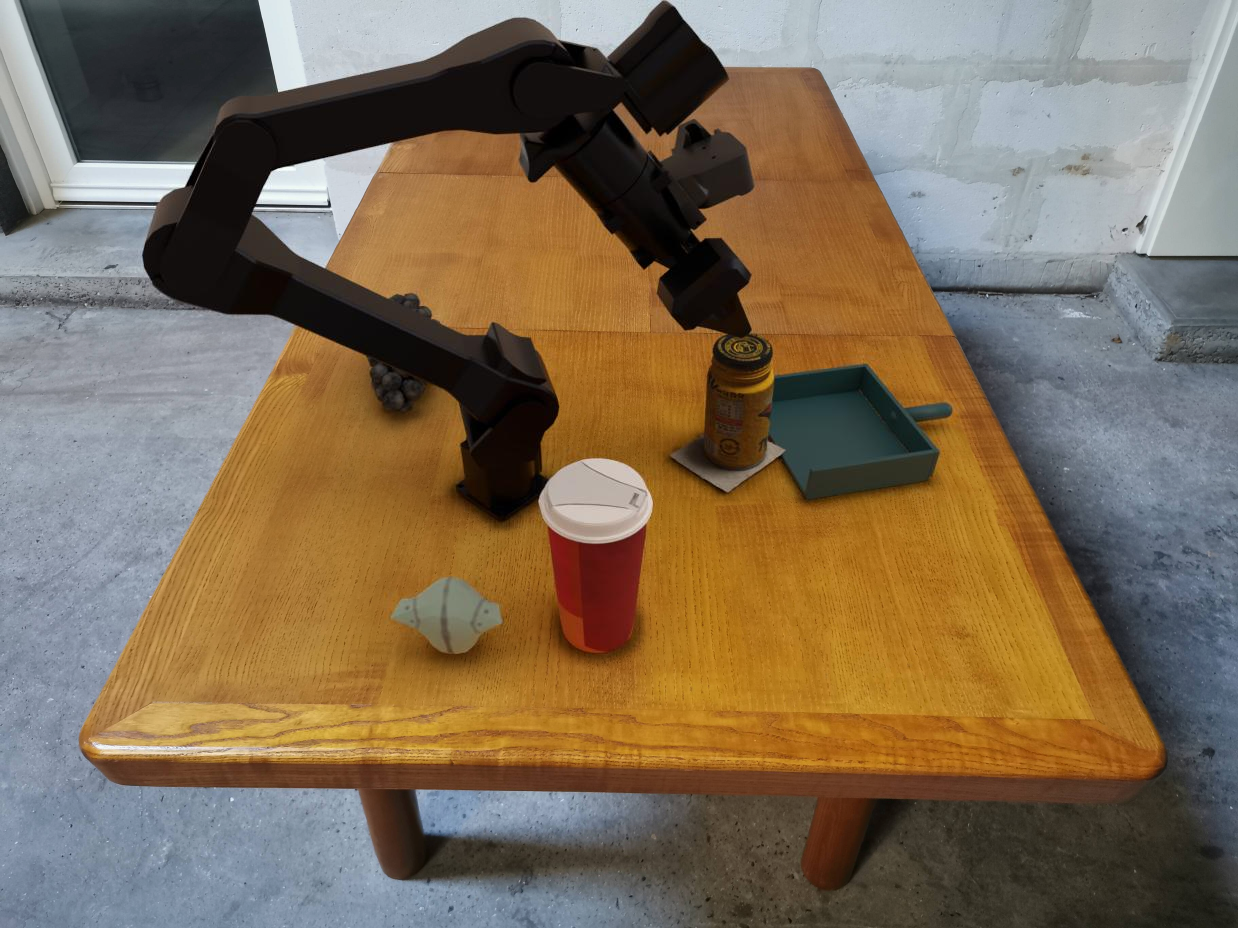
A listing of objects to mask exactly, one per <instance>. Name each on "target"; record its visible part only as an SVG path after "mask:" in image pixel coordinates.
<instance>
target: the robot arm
mask: <svg viewBox="0 0 1238 928" xmlns="http://www.w3.org/2000/svg"><path fill="white" fill-rule="evenodd" d="M729 81H730V77H729V75H728V72H727V70H726V69H725V67H724V65H723V64H722V62H721V60H720V58H719V57H718V56H717V54H716V52H715V51H714V50H713V49H712V48H711V47H710V46H709V45H707V44H706V43H705V42H704V41H703V40H702V39H701V38H700V37H699V35H698V34H697V33H696V32H695V31H694V29H693V28H692V26H690V24H688V21H686V20H685V19H684V17H683V16H682V15H681V13H680V12H679V10H678V8H677V7H676V6H675V5H673V4H672V3H671V2H670V1H668V0H661V1H660V2H659V3H658V4H657V5H656V6H655V7H654V8H653V9H652V10H651V11H650V12H649V13H648V14H647V16H646V18H645V19H644V20H643V22H642V23H641V24H640V25H639V26H638V27H637V28H636V29H635V30H634V31H632V32H631V34H629V36H627V37H626V38H625V40H623V41H622V42H621V43H620V44H619V45H618V46H617V47H616V48H615V49H614V50H612V52H611V53H610V54H608V55H607V56H606V55H605V54H604V53H603V52H602V51H601V50H600V48H598V47H594V46H591V45H585V44H580V43H575V42H571V41H567V40H563V39H562V40H561V39H558V38H557V37H556V36H555V34H554V33H553V31H552V30H550V29H549V28H548V27H547V26H545V25H544V24H542V23H541V22H540V21H537V20H536V19H533V18H529V17H526V16H525V17H524V16H523V17H519V16H518V17H511V18H508V19H506V20H503V21H500V22H499V23H496V24H493V25H491V26H489V27H486V28H484V29H482V30H480V31H477V32H474V33H473V34H470V35H467V36H466V37H464V38H463V39H461V40H459V41H458V42H456V43H455V44H453V45H451V46H450V47H448V48H447V49H445V50H444V51H442V52H440V53H438V54H436V55H434V56H431V57H429V58H426V59H424V60H421V61H415V62H410V63H405V64H401V65H396V66H392V67H388V68H383V69H379V70H374V71H373V70H372V71H370V72H369V71H368V72H364V73H360V74H356V75H350V76H346V77H341V78H337V79H331V80H328V81H323V82H318V83H314V84H309V85H304V86H300V87H296V88H291V89H287V90H281V91H277V92H273V93H272V92H271V93H267V94H263V95H259V96H257V95H256V96H250V95H240V96H239V95H238V96H235V97H233V98H231V99H229V100H227V101H226V102H225V103H224V104H223V105H222V106H221V107H220V108H219V111H218V115H217V117H216V121H215V126H214V129H213V131H212V133H211V135H210V137H209V138H208V140H207V142H206V144H205V145H204V147H203V149H202V151H201V152H200V154H199V156H198V158H197V160H196V162H195V164H194V166H193V168H192V170H191V173H190V175H189V176H188V179H187V181H186V183H185V185H184V186H183V187H179V188H174V189H172V190H170V192H168V193H166V194H165V195H163V196H162V197H161V199H160V200H159V202H157V204H156V206H155V208H154V212H153V215H152V219H151V222H150V225H149V229H148V231H147V235H146V238H145V241H144V245H143V249H142V254H141V258H142V264H143V268H144V271H145V273H146V274H147V276H148V278H149V280H150V281H151V285H152V287H154V288H155V290H157V291H158V292H160V294H162V295H164V296H166V297H167V298H169V299H171V300H172V301H174V302H175V301H176V302H178V303H181V304H185V305H188V306H192V307H197V308H200V309H202V310H203V309H204V310H207V311H212V312H214V313H218V314H222V315H227V316H271V317H275V318H278V319H279V320H281V321H284V322H287V323H289V324H292V325H293V326H296V327H299V328H301V329H303V330H306V331H308V332H310V333H312V334H315V335H317V336H319V337H322V338H324V339H326V340H328V341H331V342H333V343H336V344H338V345H339V346H342V347H345V348H347V349H349V350H351V351H353V352H356V353H359V354H361V355H362V356H365V357H366V356H368V357H370V358H372V359H375V360H377V361H379V362H381V363H384V364H386V365H388V366H391V367H393V368H395V369H398V370H400V371H402V372H405V373H407V374H409V375H411V376H414V377H416V378H418V379H421V380H423V381H425V382H427V384H430V385H431V386H435V387H437V388H439V389H442V390H444V391H445V392H447V393H448V394H449V395H450V396H451V397H452V398H453V399H454V400H456V402H458V406H459V411H460V414H461V419H462V423H463V428H464V432H465V440H463V441H461V442H459V443H460V444H459V447H460V455H461V462H462V468H463V469H462V470H463V477H464V479H463V480H461V481H459V482H457V483H456V484H455V486H454V487H455V492H456V493H458V494H459V495H460V496H462V497H463V498H465V499H466V500H468V501H469V502H470V503H472V504H474V505H475V506H477V507H478V508H479V509H481V510H482V511H484V512H485V513H487V514H488V515H490V516H491V517H493V518H494V519H496V520H497V521H499V522H504V521H507V520H509V519H510V518H511V517H513V516H514V515H516V514H517V513H519V512H520V511H522V510H524V508H526V507H527V506H529V505H530V504H531V503H533V502H534V501H536V500H538V499H539V498H540V495H541V493H542V491H543V489H544V488H545V486H546V484H547V482H548V481H549V480H550V478H547V477H546V476H544V475H542V474H541V473H542V472H543V459H542V441H543V438H544V436H545V433H546V432H547V431H548V430H549V429H550V428H551V427H553V425H554V424H555V422H556V420H557V418H558V417H559V411H560V403H559V399H558V396H557V393H556V390H555V388H554V385H553V383H552V380H551V377H550V374H549V373H548V369H547V366H546V364H545V361H544V359H543V356H542V355H541V353H540V352H539V351H538V350H537V349H536V347H535V345H534V342H533V340H532V337H527V336H520V335H517V334H514V333H513V332H511V331H509V330H508V329H507V328H505V327H504V326H502V325H501V324H500V323H498V322H495V321H492V322H491V323H490V325H489V327H488V328H487V331H486V334H465V333H461V332H459V331H457V330H454V329H452V328H451V327H449V326H447V325H444V324H443V323H441V322H440V323H441V324H440V323H438V322H436V321H434V320H432V319H433V318H431V319H430V318H428V317H425V316H423V315H421V314H419V313H417V312H415V311H413V310H411V309H409V308H407V307H405V306H402V305H400V304H398V303H396V302H394V301H392V300H390V299H389V297H388V298H387V297H386V296H383V295H382V294H380V293H378V292H375V291H373V290H371V289H370V288H367V287H365V286H363V285H361V284H358V283H357V282H354V281H352V280H350V279H348V278H346V277H344V276H342V275H340V274H337V273H336V272H334V271H332V270H330V269H327V268H326V267H323V266H322V265H319V264H317V263H315V262H313V261H311V260H308V259H307V258H304V257H303V256H300V255H298V254H297V253H296V252H295V251H293V250H292V249H291V248H290V246H288V245H287V244H286V243H285V242H284V241H283V240H282V239H280V237H279V236H278V235H277V234H275V232H273V231H272V229H270V228H269V227H268V226H267V225H266V224H265V223H264V222H263V221H262V220H261V219H260V218H258V217H257V216H256V215H254V214H253V213H254V210H255V208H256V206H257V203H258V200H259V198H260V196H261V194H262V191H263V190H264V187H265V185H266V184H267V181H268V179H269V177H270V176H271V173H272V172H274V171H277V170H279V169H283V168H287V167H292V166H296V165H297V166H298V165H301V164H305V163H310V162H315V161H318V160H322V159H323V160H324V159H328V158H331V157H336V156H340V155H341V156H342V155H344V154H350V153H354V152H358V151H362V150H367V149H371V148H375V147H379V146H384V145H388V144H393V143H397V142H402V141H407V140H410V139H415V138H419V137H424V136H428V135H433V134H437V133H441V132H452V131H453V132H454V131H464V132H472V133H479V134H488V135H498V136H499V135H517V134H518V136H519V140H520V150H519V151H520V152H519V157H518V163H519V166H520V167H521V169H522V171H523V173H524V175H525V177H526V179H527V181H528V182H530V183H531V184H535V183H536V182H538V181H539V180H540V179H541V178H542V177H544V176H545V174H547V173H548V172H549V171H550V170H551V169H552V168H553V167H554V169H556V171H557V172H558V173H559V174H560V176H562V178H564V180H565V181H566V182H567V183H568V184H569V185H570V187H572V189H573V190H574V191H575V192H576V193H577V194H578V196H580V198H581V199H583V201H584V202H585V203H586V204H587V205H588V206H589V208H590V209H591V210H592V211H593V212H594V213H595V215H596V216H597V218H598V220H599V221H600V222H601V224H602V226H603V227H604V228H605V229H606V230H607V231H608V232H609V233H610V234H611V235H615V237H617V239H618V240H619V241H620V242H621V243H622V244H623V245H624V247H626V248H627V250H628V251H629V253H630V255H632V258H633V259H634V260H635V262H636V263H637V264H638V265H639V267H641V268H642V270H643V271H645V270H646V269H648V268H649V267H650V266H651V265H652V264H653V263H656V264H659V265H661V266H662V267H664V268H667V271H665V272H664V273H663V274H662V275H661V276H660V277H658V281H657V287H656V288H657V290H656V295H657V297H658V298H659V300H660V301H661V303H662V304H663V306H664V307H665V309H666V311H667V312H668V314H669V315H670V316H671V318H673V319H674V321H676V323H677V324H678V325H679V326H680V327H681V328H682V330H684V331H685V332H686V331H687V332H688V331H693V330H695V329H696V328H697V327H698V328H703V329H707V330H711V331H715V332H719V333H722V334H724V335H727V334H728V335H732V336H735V337H739V338H744V337H745V336H746V335H747V334H749V333H752V330H753V328H752V325H751V324H750V321H749V319H748V316H747V313H746V311H745V309H744V307H743V304H742V302H741V299H740V296H739V293H740V292H741V291H742V290H743V289H745V287H746V286H747V285H749V283H750V281H751V278H752V273H751V272H750V270H749V269H748V268H747V267H746V265H745V264H744V263H743V261H742V260H741V259H740V258H739V256H738V255H737V254H736V253H735V252H734V251H733V249H732V248H731V247H730V246H729V244H728V243H726V241H725V240H724V239H723V238H722V237H704V239H702V240H700V239H699V238H698V237H697V236H696V234H695V233H694V231H696V230H697V229H698V228H700V227H701V226H702V225H704V223H705V222H706V221H707V220H708V219H707V217H706V216H705V215H704V214H703V212H702V211H701V210H706V209H711V208H712V207H715V206H717V205H719V204H722V203H723V202H726V201H729V200H731V199H732V198H735V197H737V196H740V197H743V196H745V195H748V194H749V193H751V192H752V191H753V190H754V189H755V182H754V177H753V173H752V172H753V171H752V167H751V164H750V158H749V153H748V150H747V147H746V146H745V145H744V144H743V143H742V142H741V141H740V140H739V139H738V138H737V137H736V136H734V134H732V133H731V132H729V131H722V130H721V129H719V128H716V129H713V134H711V133H710V132H709V131H708V130H707V128H705V127H704V126H703V125H702V124H701V123H700V122H699V121H698V120H697V119H696V118H692V119H691V120H690V119H689V120H687V121H686V122H684V121H685V120H686V119H687V118H689V117H690V116H691V115H692V114H693V113H694V112H695V111H696V110H697V109H699V107H701V106H702V105H703V104H704V103H705V102H706V101H707V100H709V99H710V98H711V97H712V96H713V95H714V94H715V93H716V92H718V91H719V90H720V89H721V88H722V87H723V86H725V84H726V83H728V82H729ZM620 104H621V105H622V106H623V107H624V109H625V110H626V111H627V113H628V114H629V116H631V118H632V119H633V120H634V121H635V123H637V125H638V126H639V127H640V129H641V130H642V131H643V132H644V134H645V135H646V136H647V135H649V133H651V132H652V131H653V130H654V131H655V133H656V134H657V135H658V136H659V137H662V136H663V135H666V136H669V135H670V134H671V133H672V132H673V131H674V130H675V129H676V128H677V131H676V132H677V133H676V137H675V143H674V147H673V148H671V149H670V151H671V155H670V156H667V157H666V158H664V159H662V160H659V159H658V157H657V155H655V154H654V152H653V151H652V149H650V150H648V151H647V149H646V148H645V147H644V146H643V145H642V143H641V142H640V141H639V140H638V138H637V137H636V135H635V134H634V133H633V132H632V131H631V130H630V128H629V127H628V126H627V124H626V123H625V122H624V120H623V119H622V117H620V116H619V114H618V113H617V112H616V111H615V109H616V108H617V107H618V106H619V105H620Z"/></svg>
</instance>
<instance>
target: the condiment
mask: <svg viewBox="0 0 1238 928" xmlns="http://www.w3.org/2000/svg"><path fill="white" fill-rule="evenodd" d="M773 350H774V348H773V345H772V344H771V342H770V341H769V340H768V339H766V337H764V336H761V335H759V334H757V333H753V332H750V333H749V334H747V335H746V336H745V337H744V338H739V337H735V336H732V335H728V334H724V335H722V336H720V337H718V338H717V339H716V340H715V342H714V343H713V347H712V357H711V359H710V362H711V364H710V366H709V367H708V369H707V374H706V387H705V388H706V389H705V409H704V428H703V429H704V431H703V434H702V435H700V436H698V437H697V438H694V439H693V440H691V441H690V442H689V443H687V444H686V445H684V446H683V447H681V448H679V449H677V450H676V451H674V452H673V453H671V454H670V455H669V456H670V457H671V458H672V459H674V460H675V461H676V462H677V463H679V464H681V465H682V466H683V467H685V468H687V469H688V470H690V471H691V472H692V473H694V474H696V475H698V476H699V477H700V478H701V479H703V480H706V481H708V482H709V483H711V484H712V485H714V486H715V487H717V488H719V489H721V490H723V491H724V492H725V493H729V492H732V490H733V489H734V488H736V487H738V486H739V485H740V484H742V482H744V481H746V480H747V479H748V478H750V477H751V476H753V475H754V474H756V473H758V472H759V471H761V470H762V469H763V468H765V467H766V466H767V465H769V464H770V463H772V462H773V461H774V460H776V459H777V458H779V456H780V455H781V454H782V453H783V452H784V451H785V450H784V449H782V448H781V447H779V446H777V445H775V444H773V443H772V441H770V440H769V436H768V435H769V426H770V415H771V406H772V397H773V387H774V375H775V372H774V369H773V355H774V351H773ZM780 457H781V456H780Z"/></svg>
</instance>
